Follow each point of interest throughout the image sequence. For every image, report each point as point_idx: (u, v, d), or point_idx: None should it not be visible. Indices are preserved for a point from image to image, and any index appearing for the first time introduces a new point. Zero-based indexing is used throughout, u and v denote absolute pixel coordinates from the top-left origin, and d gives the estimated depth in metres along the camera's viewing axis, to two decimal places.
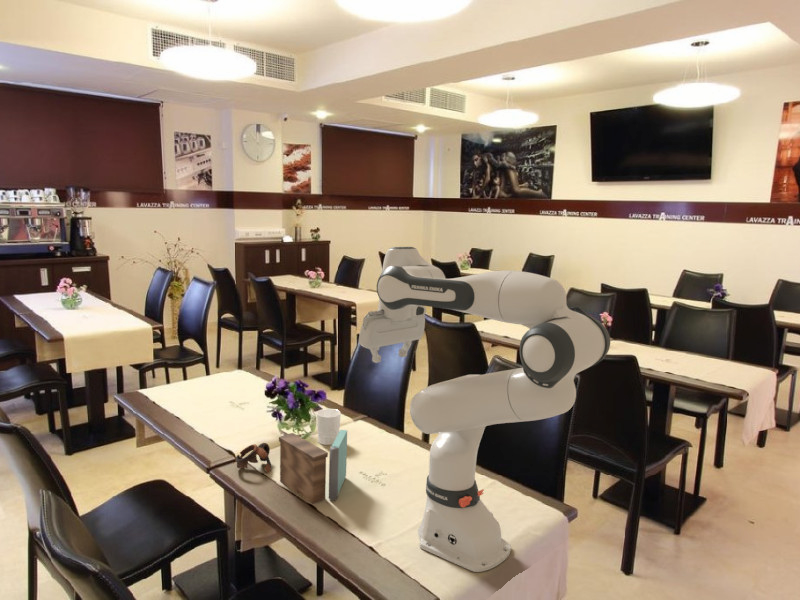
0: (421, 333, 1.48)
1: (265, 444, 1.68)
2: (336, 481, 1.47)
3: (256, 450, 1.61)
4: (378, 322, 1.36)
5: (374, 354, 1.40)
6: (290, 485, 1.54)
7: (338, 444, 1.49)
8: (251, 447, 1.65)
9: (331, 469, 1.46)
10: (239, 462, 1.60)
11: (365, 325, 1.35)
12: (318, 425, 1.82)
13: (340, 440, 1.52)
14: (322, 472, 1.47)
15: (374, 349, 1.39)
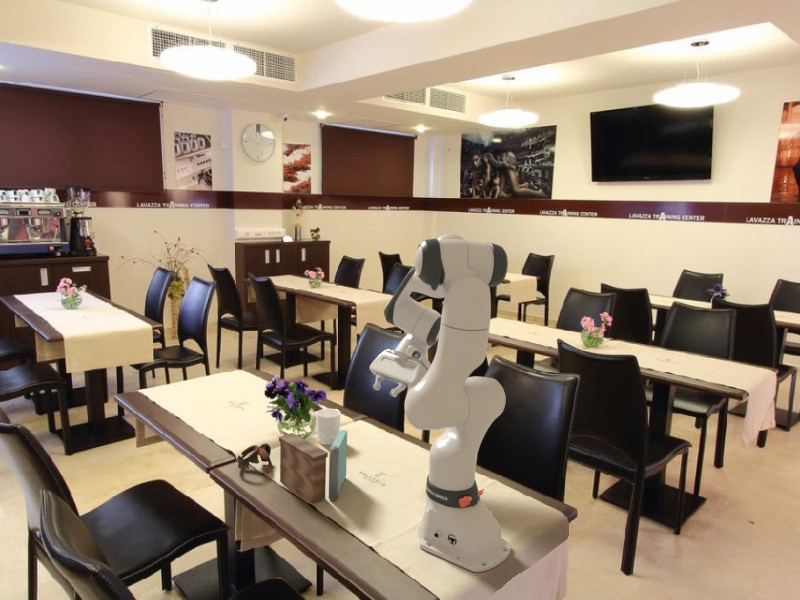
0: (413, 378, 1.60)
1: (266, 445, 1.68)
2: (336, 481, 1.47)
3: (257, 451, 1.61)
4: (385, 353, 1.73)
5: None
6: (290, 485, 1.54)
7: (338, 444, 1.49)
8: (252, 448, 1.65)
9: (331, 469, 1.46)
10: (240, 463, 1.59)
11: None
12: (318, 425, 1.82)
13: (340, 440, 1.52)
14: (322, 472, 1.47)
15: None
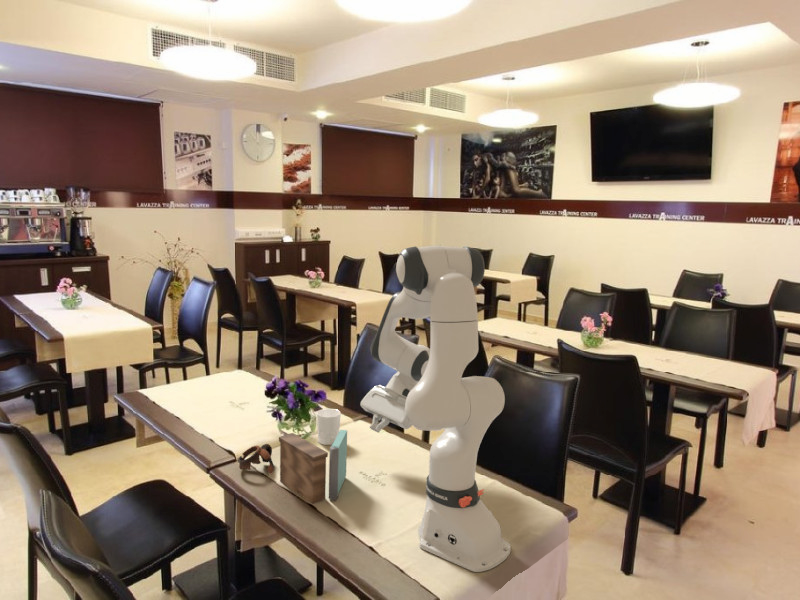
0: (403, 418, 1.60)
1: (267, 445, 1.67)
2: (336, 481, 1.47)
3: (259, 451, 1.61)
4: (376, 389, 1.73)
5: None
6: (290, 485, 1.54)
7: (338, 444, 1.49)
8: (253, 448, 1.64)
9: (331, 469, 1.46)
10: (242, 463, 1.59)
11: None
12: (318, 425, 1.82)
13: (340, 440, 1.52)
14: (322, 472, 1.47)
15: None
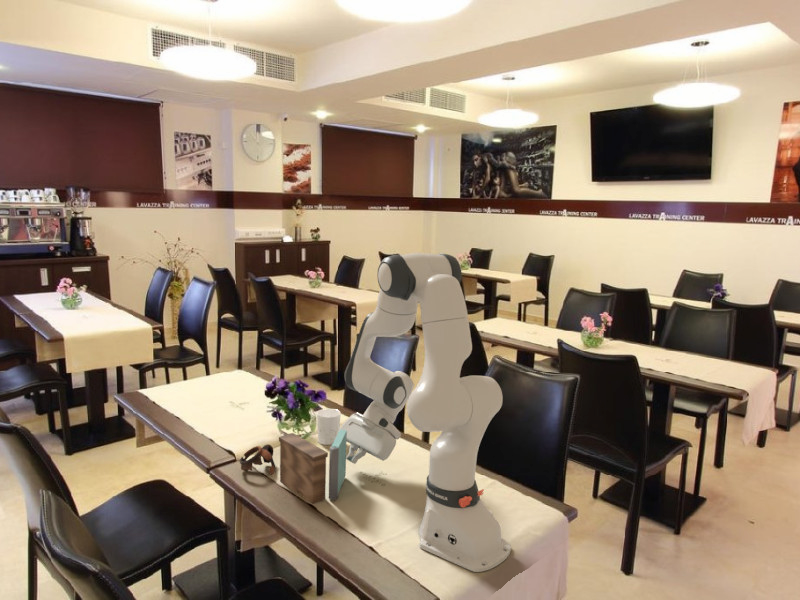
0: (379, 449, 1.55)
1: (269, 446, 1.67)
2: (336, 481, 1.47)
3: (260, 452, 1.60)
4: (353, 417, 1.68)
5: None
6: (290, 485, 1.54)
7: (338, 444, 1.49)
8: (255, 449, 1.64)
9: (331, 469, 1.46)
10: (243, 464, 1.59)
11: None
12: (318, 425, 1.82)
13: (340, 440, 1.52)
14: (322, 472, 1.47)
15: None
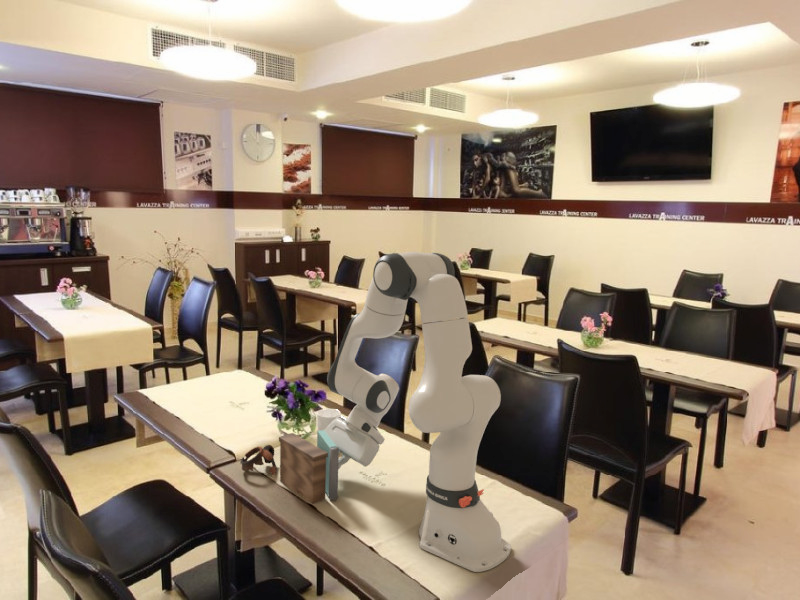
0: (361, 455, 1.51)
1: (270, 446, 1.67)
2: (337, 480, 1.48)
3: (261, 452, 1.60)
4: (337, 421, 1.64)
5: None
6: (290, 485, 1.54)
7: (333, 444, 1.49)
8: (256, 449, 1.64)
9: (333, 469, 1.46)
10: (244, 464, 1.58)
11: None
12: (318, 425, 1.82)
13: (330, 440, 1.51)
14: (322, 472, 1.47)
15: None
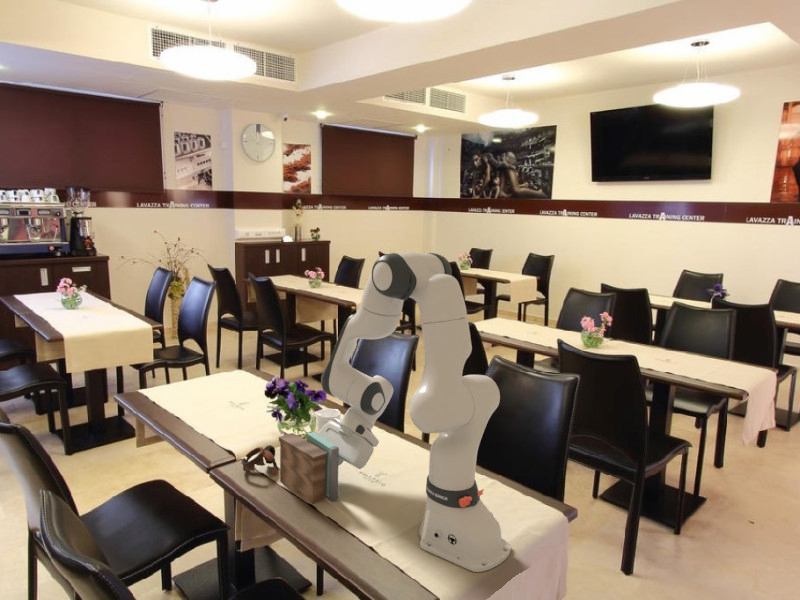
0: (355, 457, 1.49)
1: (271, 446, 1.66)
2: (337, 479, 1.48)
3: (263, 453, 1.60)
4: (331, 423, 1.62)
5: None
6: (290, 485, 1.54)
7: (330, 444, 1.49)
8: (257, 450, 1.63)
9: (334, 469, 1.46)
10: (246, 465, 1.58)
11: None
12: (318, 425, 1.82)
13: (325, 441, 1.51)
14: (322, 472, 1.47)
15: None
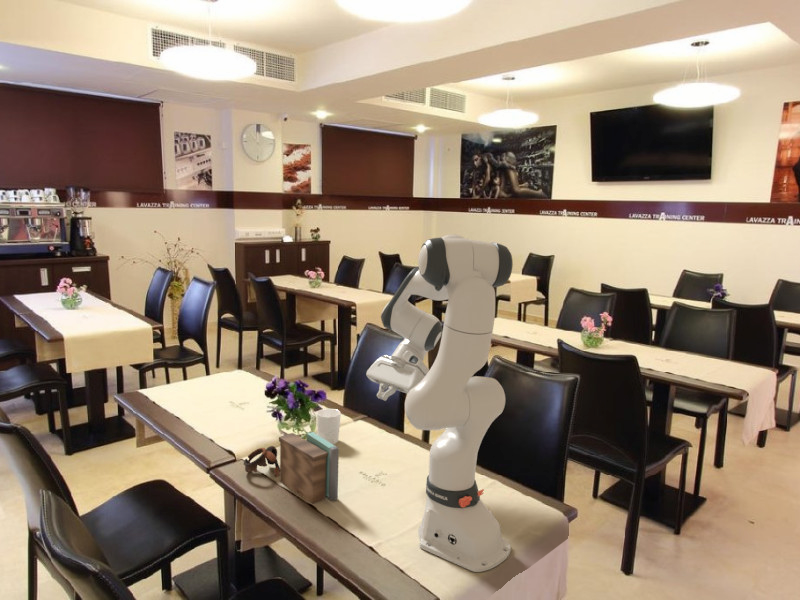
0: (410, 384, 1.57)
1: (273, 447, 1.66)
2: (337, 479, 1.48)
3: (265, 453, 1.59)
4: (382, 359, 1.70)
5: None
6: (290, 485, 1.54)
7: (330, 444, 1.49)
8: (259, 450, 1.63)
9: (334, 469, 1.46)
10: (248, 466, 1.57)
11: None
12: (318, 425, 1.82)
13: (325, 441, 1.51)
14: (322, 472, 1.47)
15: None
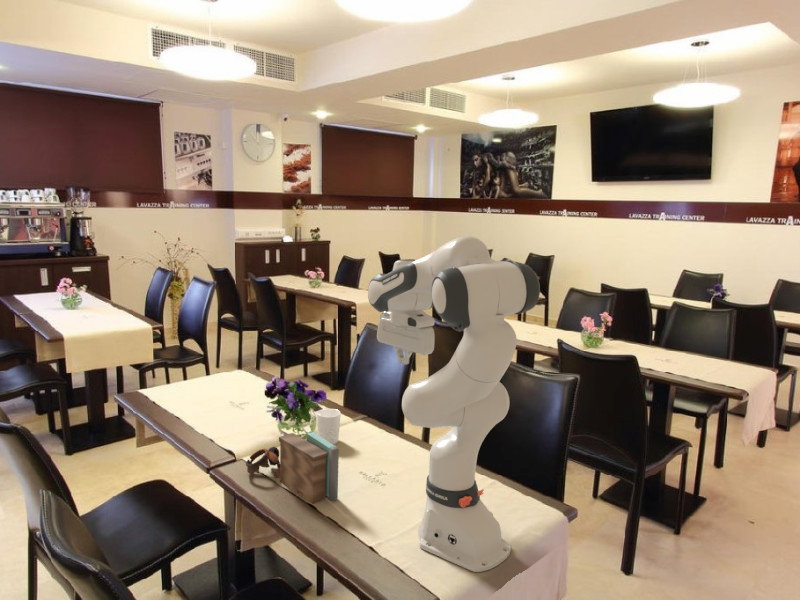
0: (422, 348, 1.50)
1: (275, 448, 1.65)
2: (337, 479, 1.48)
3: (267, 454, 1.59)
4: (383, 320, 1.61)
5: None
6: (290, 485, 1.54)
7: (330, 444, 1.49)
8: (261, 451, 1.62)
9: (334, 469, 1.46)
10: (250, 467, 1.57)
11: None
12: (318, 425, 1.82)
13: (325, 441, 1.51)
14: (322, 472, 1.47)
15: None
